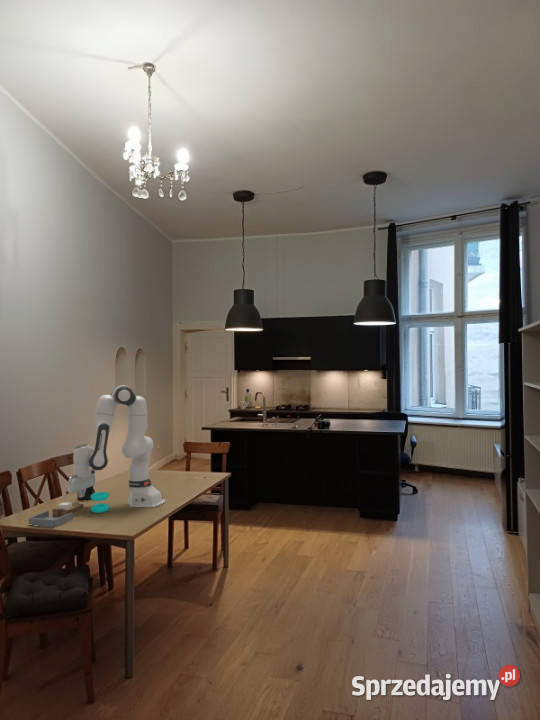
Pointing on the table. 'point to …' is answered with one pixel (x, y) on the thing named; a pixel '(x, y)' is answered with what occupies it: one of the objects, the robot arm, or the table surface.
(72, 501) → the tile rear
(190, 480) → the table surface
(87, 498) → the mug
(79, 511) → the bench
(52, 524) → the tray
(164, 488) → the table surface
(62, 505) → the tile front
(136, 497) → the robot arm
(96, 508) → the donuts
